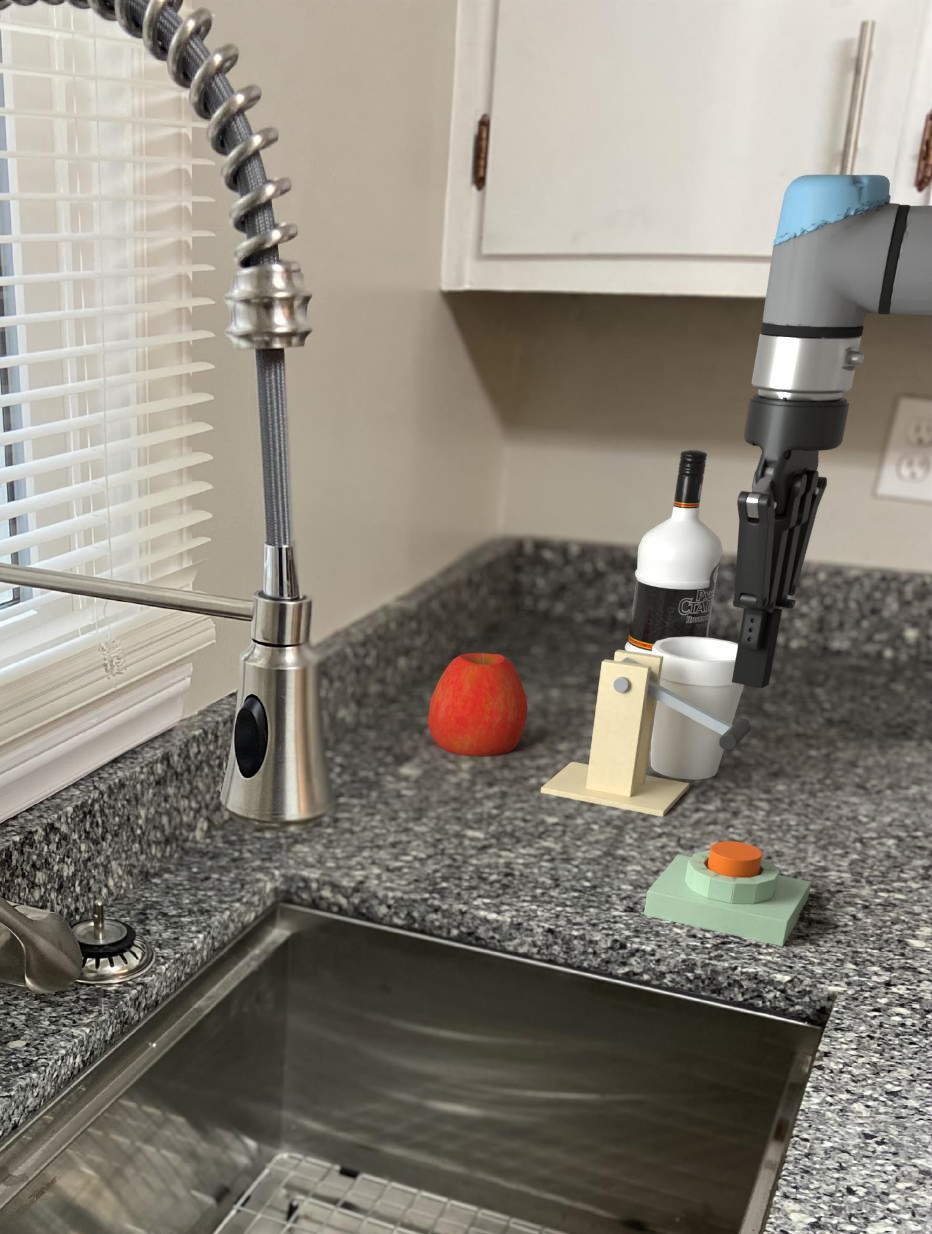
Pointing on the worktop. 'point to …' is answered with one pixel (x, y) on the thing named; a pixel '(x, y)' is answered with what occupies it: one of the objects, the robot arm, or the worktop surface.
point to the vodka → (676, 567)
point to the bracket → (621, 743)
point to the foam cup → (705, 682)
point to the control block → (728, 899)
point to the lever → (700, 714)
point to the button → (734, 859)
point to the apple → (478, 706)
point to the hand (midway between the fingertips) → (750, 683)
